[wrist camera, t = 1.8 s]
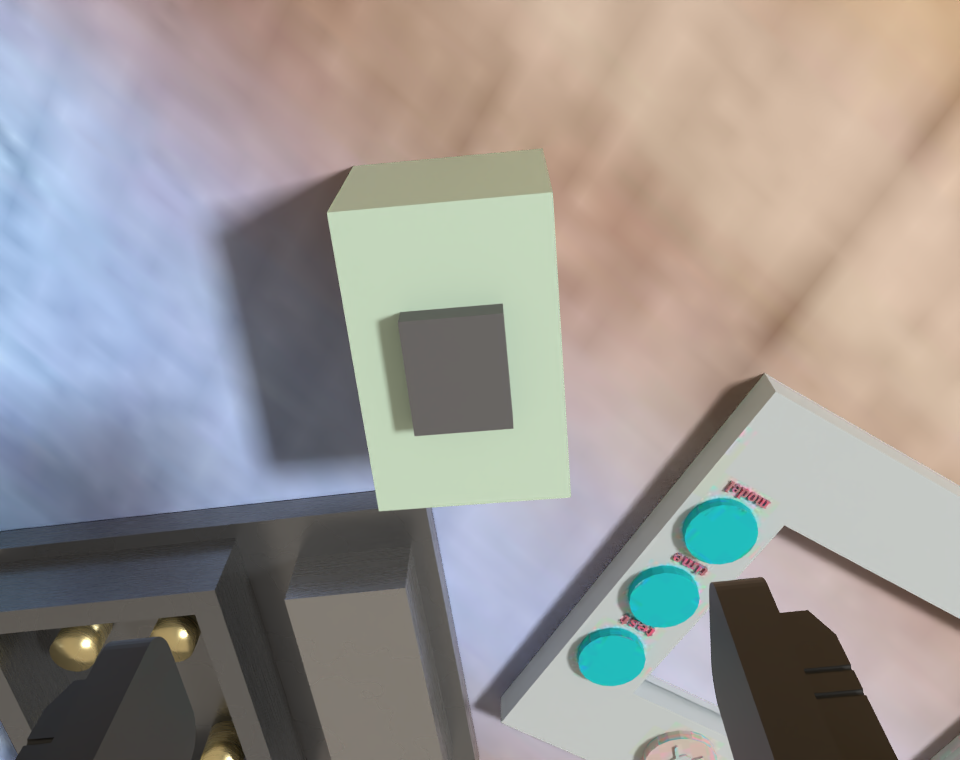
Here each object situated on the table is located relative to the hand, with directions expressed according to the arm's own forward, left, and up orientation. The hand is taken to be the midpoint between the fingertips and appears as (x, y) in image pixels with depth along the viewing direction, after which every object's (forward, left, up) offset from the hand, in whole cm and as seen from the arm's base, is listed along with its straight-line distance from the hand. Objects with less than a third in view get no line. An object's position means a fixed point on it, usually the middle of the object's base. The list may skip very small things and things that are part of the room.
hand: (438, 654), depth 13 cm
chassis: (+12, -10, -14) cm, 21 cm away
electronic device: (+15, +11, -15) cm, 24 cm away
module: (0, 0, -14) cm, 14 cm away
